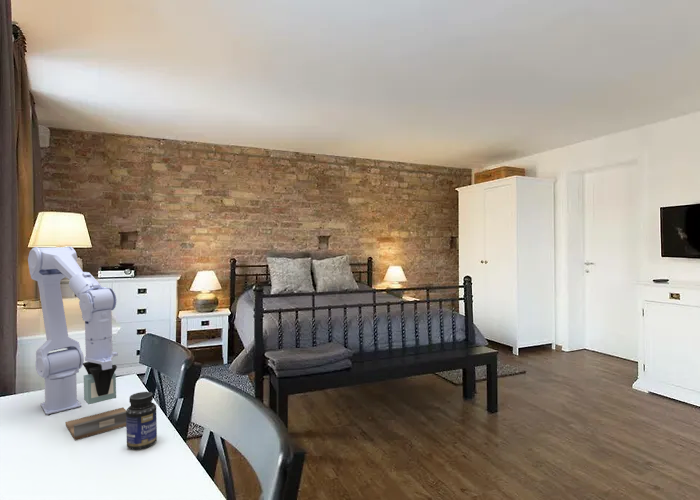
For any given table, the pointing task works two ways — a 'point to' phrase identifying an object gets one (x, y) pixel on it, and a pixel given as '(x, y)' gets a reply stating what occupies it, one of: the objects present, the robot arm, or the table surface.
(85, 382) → the carton
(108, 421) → the shelf board
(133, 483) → the table surface
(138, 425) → the pill bottle
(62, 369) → the robot arm
